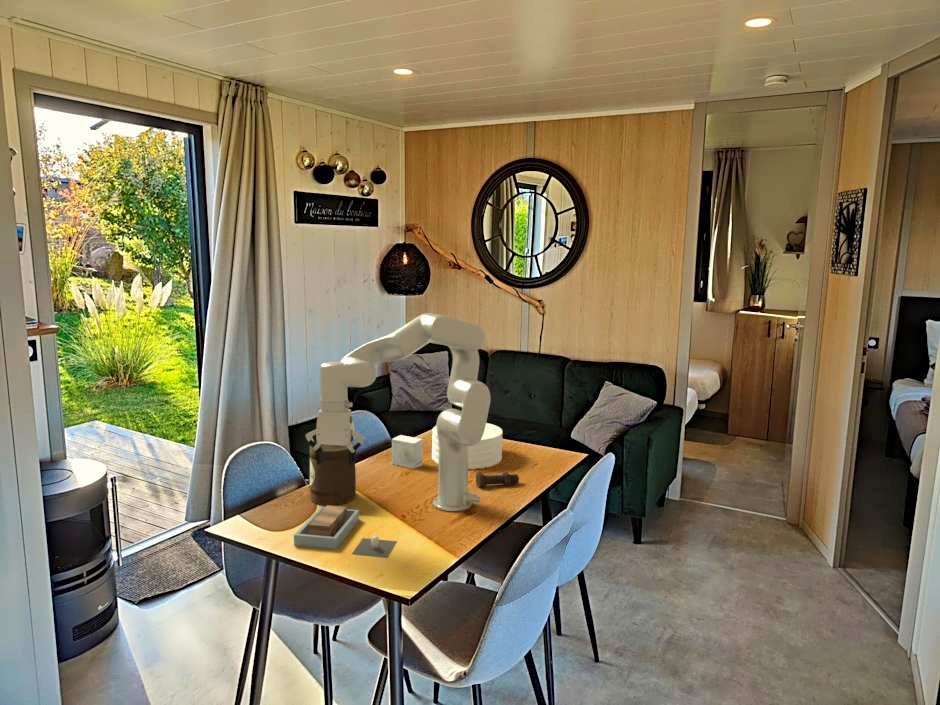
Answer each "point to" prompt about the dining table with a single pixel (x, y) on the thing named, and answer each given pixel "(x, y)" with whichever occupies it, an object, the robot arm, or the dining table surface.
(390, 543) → the stud base
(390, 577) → the dining table surface
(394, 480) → the dining table surface
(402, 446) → the skincare box
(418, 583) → the dining table surface
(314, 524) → the brown rectangular block
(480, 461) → the plate stack
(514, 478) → the bolt
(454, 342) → the robot arm
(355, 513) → the tray
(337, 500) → the wooden container
